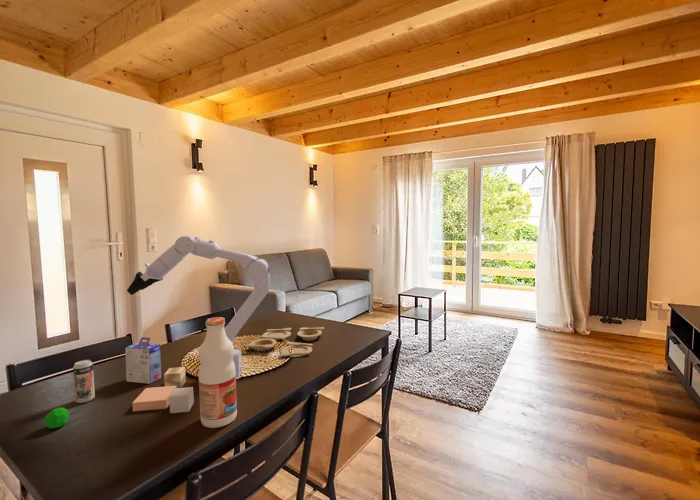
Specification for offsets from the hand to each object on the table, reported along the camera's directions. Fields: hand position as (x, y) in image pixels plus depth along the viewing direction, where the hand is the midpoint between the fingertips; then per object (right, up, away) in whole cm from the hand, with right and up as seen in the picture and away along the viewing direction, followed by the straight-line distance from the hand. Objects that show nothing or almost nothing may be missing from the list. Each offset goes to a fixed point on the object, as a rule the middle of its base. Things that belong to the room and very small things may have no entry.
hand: (134, 290), depth 114 cm
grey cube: (+23, -33, -14) cm, 42 cm away
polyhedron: (-6, -34, -23) cm, 41 cm away
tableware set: (+43, -29, +40) cm, 66 cm away
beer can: (-9, -33, -9) cm, 35 cm away
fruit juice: (+36, -33, -20) cm, 53 cm away
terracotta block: (+13, -33, -11) cm, 37 cm away
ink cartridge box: (+1, -32, +5) cm, 32 cm away
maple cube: (+13, -32, +1) cm, 35 cm away
